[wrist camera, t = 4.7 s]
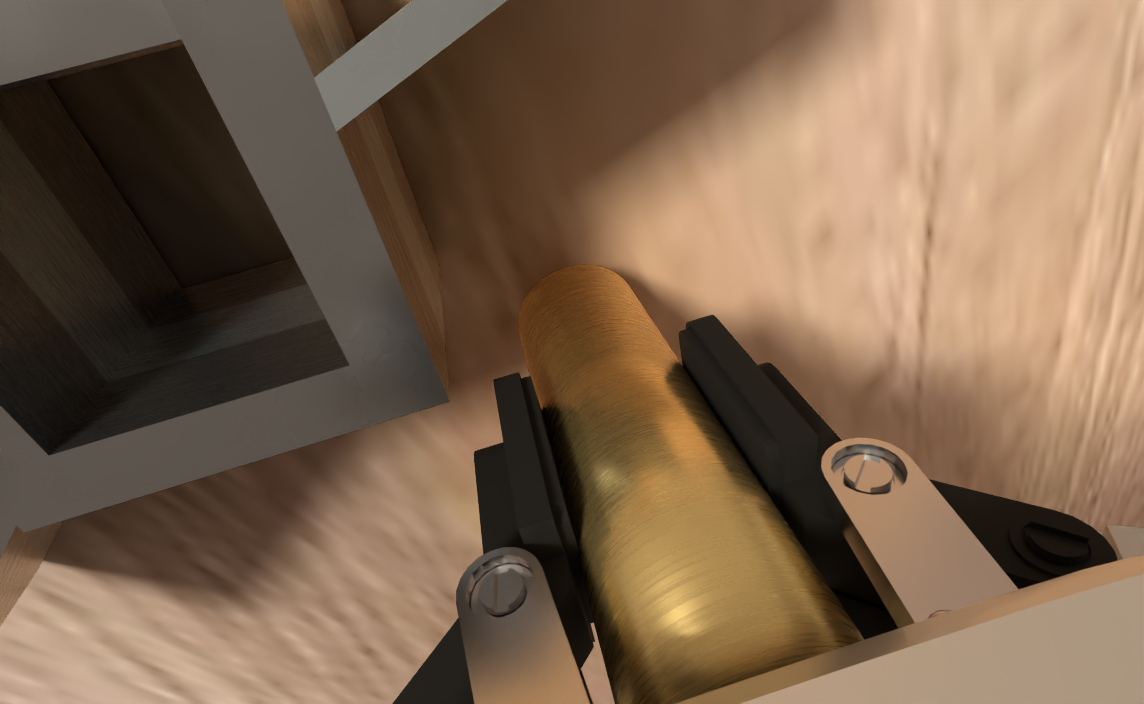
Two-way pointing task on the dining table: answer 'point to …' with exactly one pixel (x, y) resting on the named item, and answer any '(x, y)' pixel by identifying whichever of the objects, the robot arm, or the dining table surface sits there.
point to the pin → (664, 505)
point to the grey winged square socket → (218, 307)
